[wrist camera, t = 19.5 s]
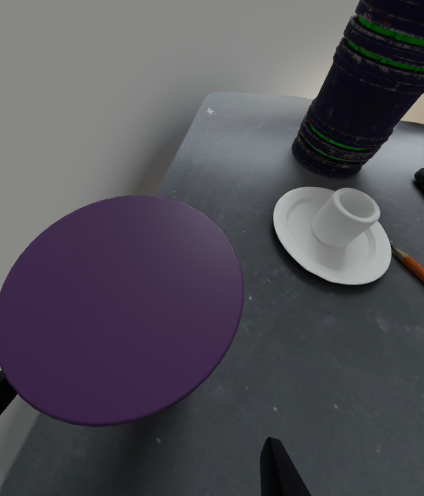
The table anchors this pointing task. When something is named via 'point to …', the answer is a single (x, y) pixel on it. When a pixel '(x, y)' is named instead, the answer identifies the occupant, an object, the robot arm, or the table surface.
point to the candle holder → (333, 233)
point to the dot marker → (119, 310)
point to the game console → (420, 177)
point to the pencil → (410, 263)
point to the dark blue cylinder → (365, 88)
